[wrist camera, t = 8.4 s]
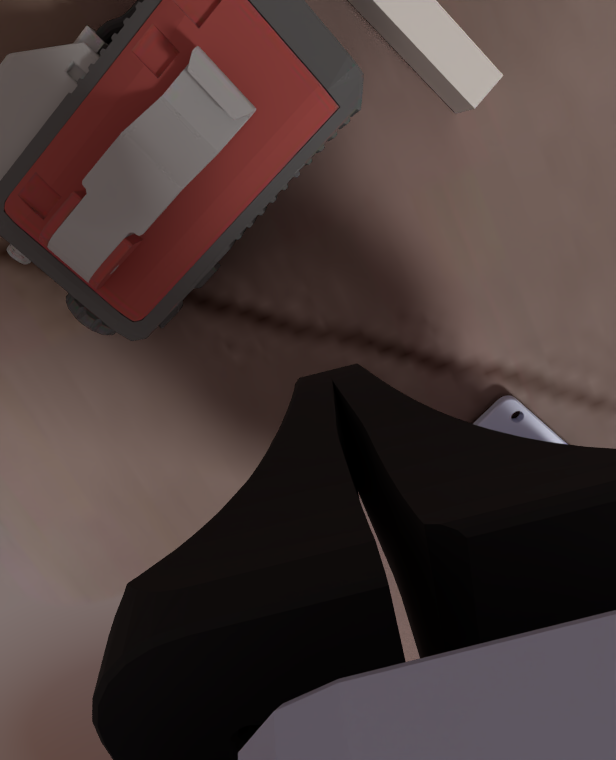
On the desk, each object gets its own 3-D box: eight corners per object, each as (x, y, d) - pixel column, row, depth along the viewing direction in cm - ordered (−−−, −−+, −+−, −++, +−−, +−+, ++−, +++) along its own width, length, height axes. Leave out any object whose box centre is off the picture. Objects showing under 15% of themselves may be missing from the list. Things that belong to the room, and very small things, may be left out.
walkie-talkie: (197, -161, 16) (-151, 310, 21) (168, -270, 12) (-257, 345, 17) (394, 79, 19) (43, 451, 23) (424, 55, 15) (-8, 512, 19)
